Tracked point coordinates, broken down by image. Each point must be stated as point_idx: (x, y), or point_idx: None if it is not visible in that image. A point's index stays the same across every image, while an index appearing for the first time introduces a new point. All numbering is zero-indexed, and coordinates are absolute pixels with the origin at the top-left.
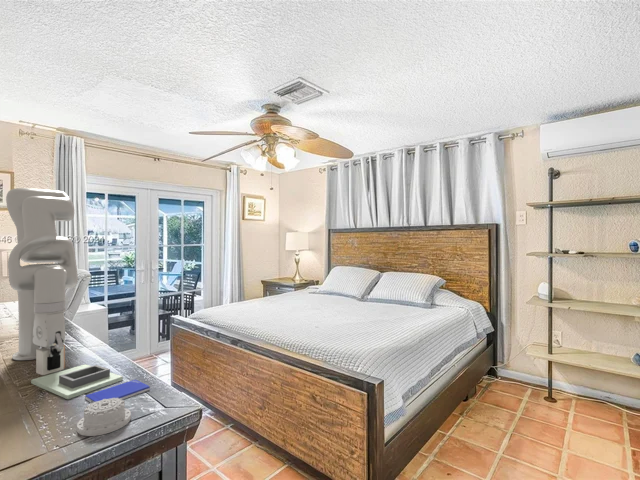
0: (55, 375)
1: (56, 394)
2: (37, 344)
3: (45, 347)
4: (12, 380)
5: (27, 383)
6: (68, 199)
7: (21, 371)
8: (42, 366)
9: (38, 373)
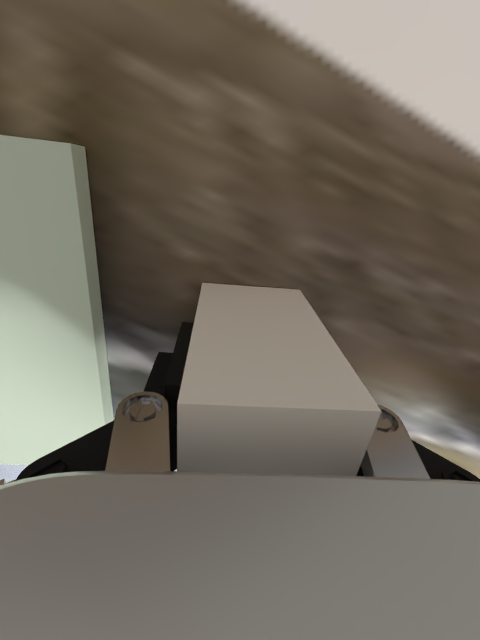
0: (19, 290)
1: None
2: (381, 492)
3: (46, 475)
4: (311, 115)
5: (113, 132)
6: None
7: (439, 262)
8: (201, 309)
9: (267, 288)
